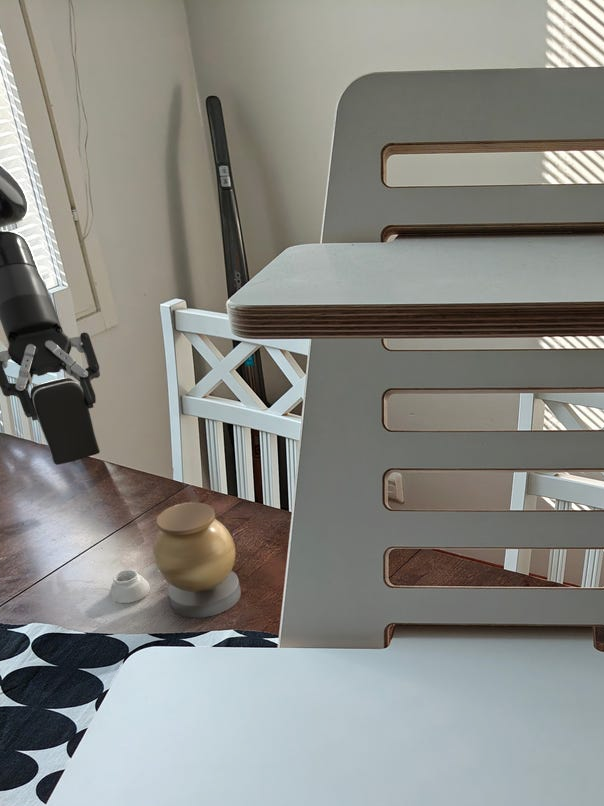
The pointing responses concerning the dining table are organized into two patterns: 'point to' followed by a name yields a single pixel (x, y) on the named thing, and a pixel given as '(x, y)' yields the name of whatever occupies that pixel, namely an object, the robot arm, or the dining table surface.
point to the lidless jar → (128, 587)
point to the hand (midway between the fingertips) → (63, 411)
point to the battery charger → (64, 420)
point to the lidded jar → (196, 560)
